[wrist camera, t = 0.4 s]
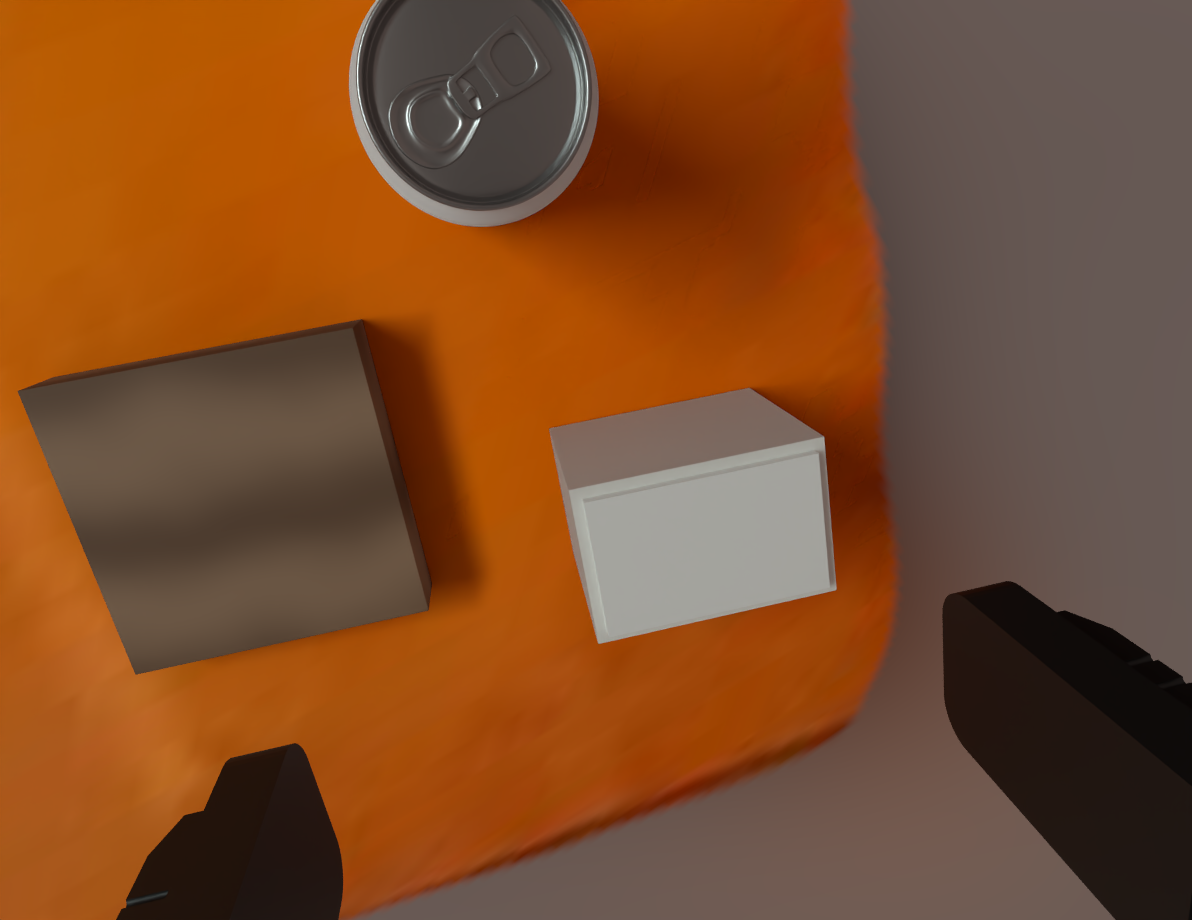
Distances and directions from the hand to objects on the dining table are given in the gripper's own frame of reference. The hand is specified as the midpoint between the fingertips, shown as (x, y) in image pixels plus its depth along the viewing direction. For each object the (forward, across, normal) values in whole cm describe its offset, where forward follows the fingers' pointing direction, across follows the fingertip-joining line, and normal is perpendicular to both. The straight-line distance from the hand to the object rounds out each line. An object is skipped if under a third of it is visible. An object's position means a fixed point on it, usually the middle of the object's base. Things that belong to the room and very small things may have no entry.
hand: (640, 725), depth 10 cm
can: (+25, 0, -8) cm, 27 cm away
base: (+25, +12, +4) cm, 28 cm away
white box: (+25, -5, +6) cm, 26 cm away
